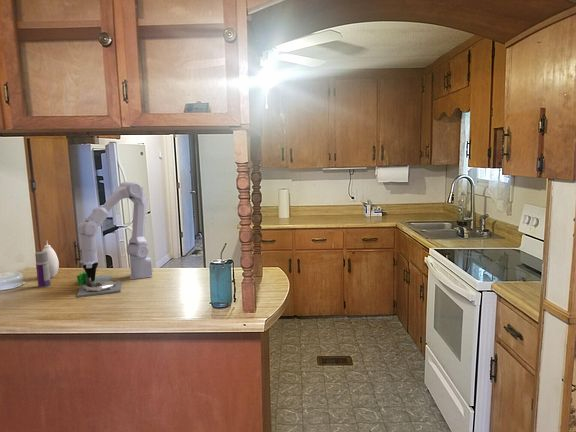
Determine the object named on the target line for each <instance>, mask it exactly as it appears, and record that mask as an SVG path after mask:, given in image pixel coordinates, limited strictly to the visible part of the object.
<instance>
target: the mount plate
mask: <svg viewBox="0 0 576 432" xmlns="http://www.w3.org/2000/svg"><path fill="white" fill-rule="evenodd" d="M112 281H113V280H112ZM113 282H114V283H116V286H114V287H112V289H107V290H102V291H99V292H97V291H89V292H86V289H84V290H83V286H86V285H87V284H83V285H81V286H79V289H78V291H77V294H76V298H83V297H84V298H85V297H91V296H92V297H93V296H99V295H101V296H102V295H108V294H115V293H117V294H118V293H121V292H122V291H121V287H122V286H121V285H122V281H121V280H115V281H113Z"/></svg>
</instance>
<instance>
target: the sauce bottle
mask: <svg viewBox="0 0 576 432" xmlns="http://www.w3.org/2000/svg"><path fill="white" fill-rule="evenodd" d="M44 251H46V252H47V255H48V262H49V272H50V279H51V278H54V277H55V275H57V274H58V272H59V266H60V262H59V258H58V255H57V253H56V251H55V250H54V248H53V247H52V246H51V245H50V244H49V242H48V241H46V245H44V246H43V249H42V251H41V252H44Z"/></svg>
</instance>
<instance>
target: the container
mask: <svg viewBox="0 0 576 432" xmlns="http://www.w3.org/2000/svg"><path fill="white" fill-rule="evenodd" d="M34 254H35V255H34V256H35V266H36V277H37V284H38V285H37V286H38V288H41V289H43V288H48V287H51V285H52V284H51V283H52V282H51V278H50V272H49V262H48V255H47V252H46V251H44V252H42V251H37V252H35V253H34Z"/></svg>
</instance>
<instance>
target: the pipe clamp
mask: <svg viewBox="0 0 576 432" xmlns="http://www.w3.org/2000/svg"><path fill="white" fill-rule="evenodd" d="M76 278H77V284H78V287H80V286H81V285H87V279H86V278H88V277H87V274H86V271H85V270H84V271H83V272H81V273H80V274H78V275H76Z"/></svg>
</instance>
